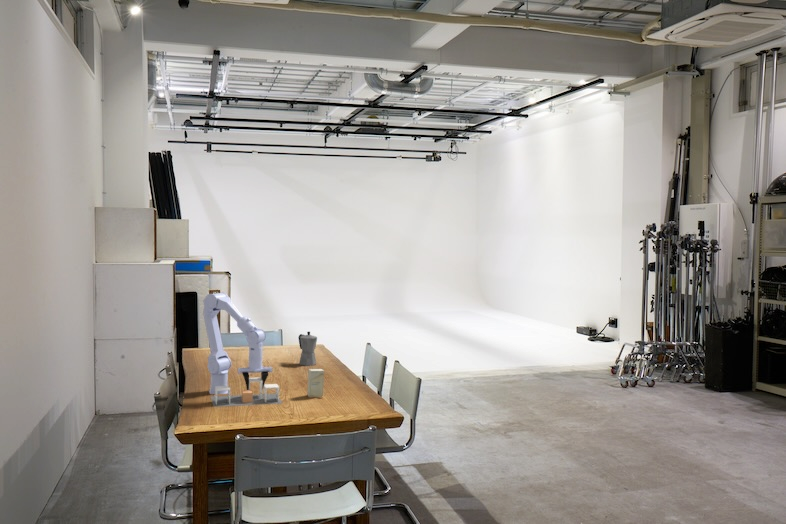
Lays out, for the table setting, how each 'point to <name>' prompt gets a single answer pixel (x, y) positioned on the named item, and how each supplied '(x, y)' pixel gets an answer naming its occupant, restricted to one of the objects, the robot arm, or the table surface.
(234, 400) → the mat
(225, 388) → the arch left
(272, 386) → the arch right
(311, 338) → the coffeepot
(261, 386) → the white u-channel shell
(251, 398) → the cube
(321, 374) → the skincare box
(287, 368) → the table surface
